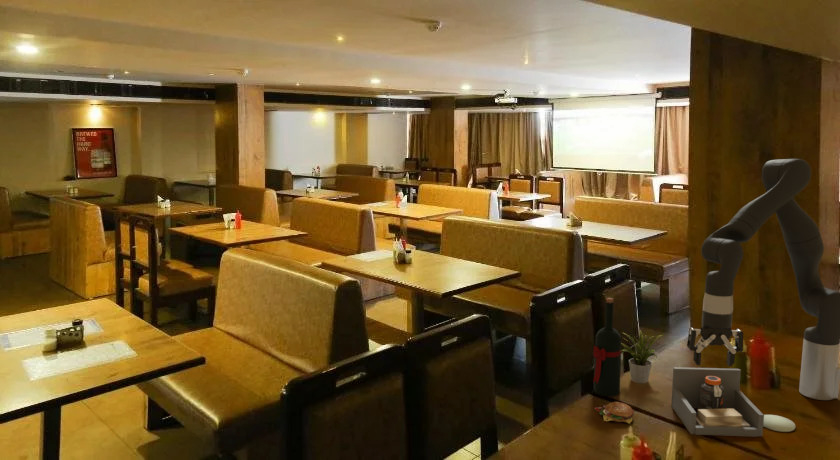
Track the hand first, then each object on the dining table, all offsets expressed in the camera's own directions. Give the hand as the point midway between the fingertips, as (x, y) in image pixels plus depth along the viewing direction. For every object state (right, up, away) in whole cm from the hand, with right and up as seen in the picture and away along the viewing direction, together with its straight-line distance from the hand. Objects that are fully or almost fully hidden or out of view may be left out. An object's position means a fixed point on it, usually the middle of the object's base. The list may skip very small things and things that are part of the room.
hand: (713, 364), depth 175 cm
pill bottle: (0, -15, +2) cm, 15 cm away
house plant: (-10, -11, +29) cm, 32 cm away
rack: (0, -15, -1) cm, 15 cm away
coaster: (+16, -16, -3) cm, 23 cm away
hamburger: (-28, -16, +4) cm, 32 cm away
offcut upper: (-1, -14, -5) cm, 15 cm away
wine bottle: (-25, -13, +19) cm, 34 cm away
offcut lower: (0, -17, -5) cm, 17 cm away
